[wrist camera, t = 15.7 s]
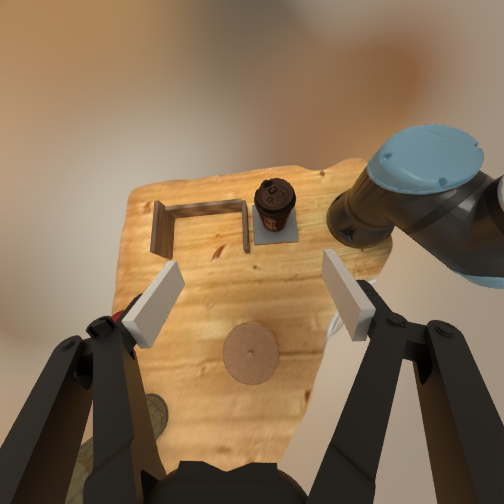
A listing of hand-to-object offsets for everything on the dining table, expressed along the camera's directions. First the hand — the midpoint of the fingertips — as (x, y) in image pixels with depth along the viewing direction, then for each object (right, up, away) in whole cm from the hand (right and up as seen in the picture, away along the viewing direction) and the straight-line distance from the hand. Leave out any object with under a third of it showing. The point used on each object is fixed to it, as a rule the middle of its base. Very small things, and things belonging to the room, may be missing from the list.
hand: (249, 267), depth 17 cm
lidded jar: (+1, -20, +26) cm, 33 cm away
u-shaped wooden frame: (-12, +7, +34) cm, 36 cm away
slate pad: (+6, +9, +32) cm, 34 cm away
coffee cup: (+6, +10, +32) cm, 34 cm away
